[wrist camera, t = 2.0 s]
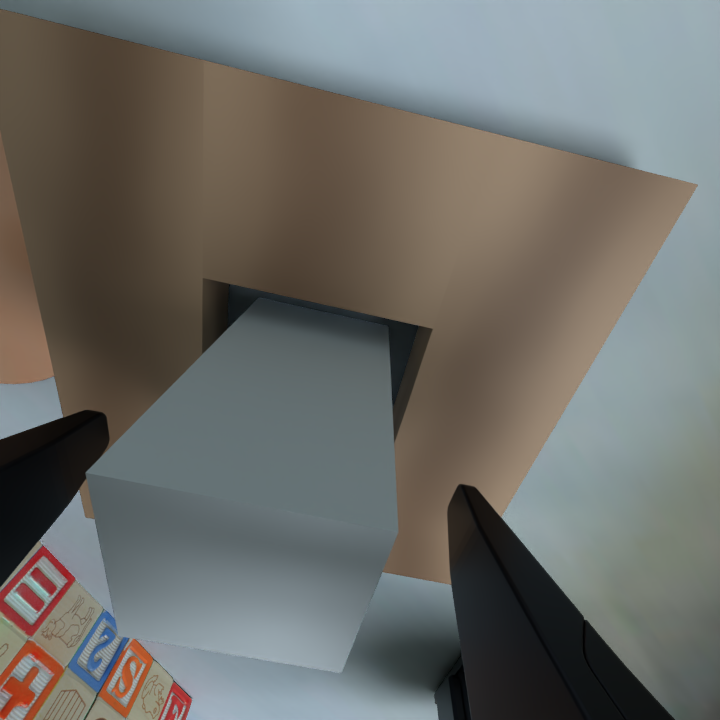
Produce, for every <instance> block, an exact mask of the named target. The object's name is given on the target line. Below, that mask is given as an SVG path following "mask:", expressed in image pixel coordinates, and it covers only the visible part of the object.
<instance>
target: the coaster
mask: <svg viewBox="0 0 720 720" xmlns="http://www.w3.org/2000/svg"><path fill="white" fill-rule="evenodd" d="M53 376H54V372H53V368H52V363H51V359H50V354H49V350H48V345H47V341H46V336H45V332H44V327H43V322H42V318H41V313H40V309H39V304H38V300H37V295H36V291H35V286H34V282H33V277H32V273H31V268H30V264H29V259H28V254H27V250H26V245H25V241H24V236H23V232H22V227H21V223H20V218H19V214H18V209H17V205H16V200H15V195H14V191H13V186H12V182H11V177H10V173H9V168H8V164H7V159H6V155H5V150H4V146H3V141H2V137H1V132H0V383H2V384H21V383H32V382H36V381H41V380H45V379H48V378H50V377H53Z"/></svg>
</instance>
